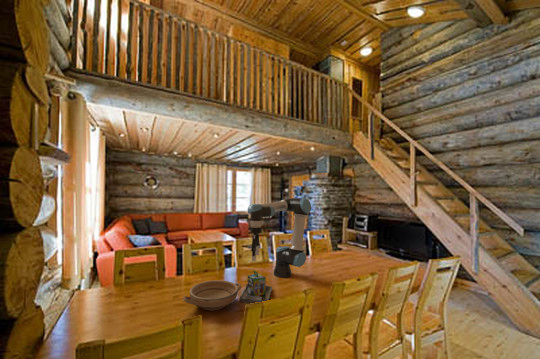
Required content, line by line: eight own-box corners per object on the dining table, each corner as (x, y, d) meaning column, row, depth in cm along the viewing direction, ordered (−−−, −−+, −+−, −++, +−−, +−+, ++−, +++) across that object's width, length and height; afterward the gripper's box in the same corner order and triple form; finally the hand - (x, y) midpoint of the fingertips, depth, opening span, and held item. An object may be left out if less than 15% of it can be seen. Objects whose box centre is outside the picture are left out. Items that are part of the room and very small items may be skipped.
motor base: (247, 287, 176) (247, 275, 177) (272, 289, 174) (272, 277, 174) (239, 301, 154) (239, 288, 154) (267, 304, 151) (268, 290, 152)
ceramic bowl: (192, 326, 125) (193, 306, 125) (174, 305, 147) (175, 288, 147) (252, 306, 148) (252, 289, 149) (228, 290, 170) (229, 275, 171)
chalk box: (265, 295, 160) (266, 272, 161) (253, 297, 155) (254, 274, 156) (258, 289, 168) (259, 268, 168) (246, 292, 163) (247, 270, 164)
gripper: (253, 223, 181) (252, 252, 180) (247, 229, 156) (246, 263, 155) (263, 224, 180) (263, 253, 180) (258, 229, 155) (258, 263, 155)
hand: (255, 257), depth 167 cm, fingers open, 13 cm apart
